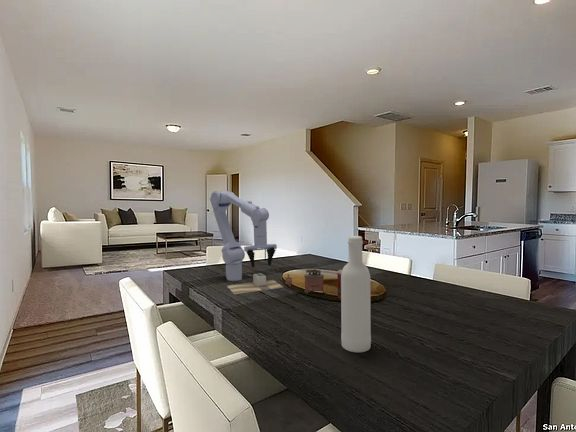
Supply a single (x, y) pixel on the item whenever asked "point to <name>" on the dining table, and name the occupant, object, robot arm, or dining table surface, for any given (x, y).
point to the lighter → (313, 280)
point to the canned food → (339, 283)
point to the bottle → (355, 300)
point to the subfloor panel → (253, 287)
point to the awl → (288, 280)
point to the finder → (259, 279)
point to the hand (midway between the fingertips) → (261, 265)
